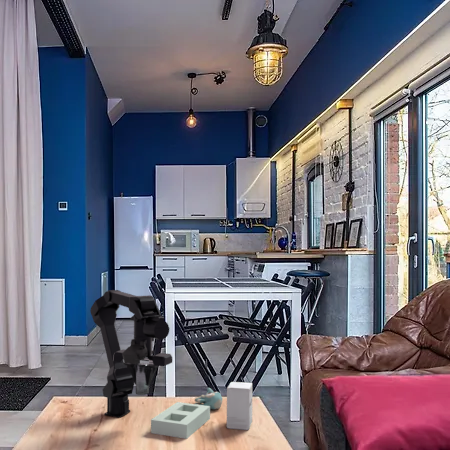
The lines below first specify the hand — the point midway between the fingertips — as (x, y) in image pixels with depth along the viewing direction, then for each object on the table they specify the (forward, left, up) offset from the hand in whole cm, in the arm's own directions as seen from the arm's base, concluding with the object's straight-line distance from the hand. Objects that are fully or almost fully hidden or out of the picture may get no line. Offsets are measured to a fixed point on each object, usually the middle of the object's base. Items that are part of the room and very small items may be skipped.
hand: (142, 385), depth 153 cm
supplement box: (+29, +11, -13) cm, 34 cm away
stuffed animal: (+13, +24, -13) cm, 30 cm away
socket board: (+12, +4, -12) cm, 18 cm away
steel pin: (0, 0, -2) cm, 2 cm away
